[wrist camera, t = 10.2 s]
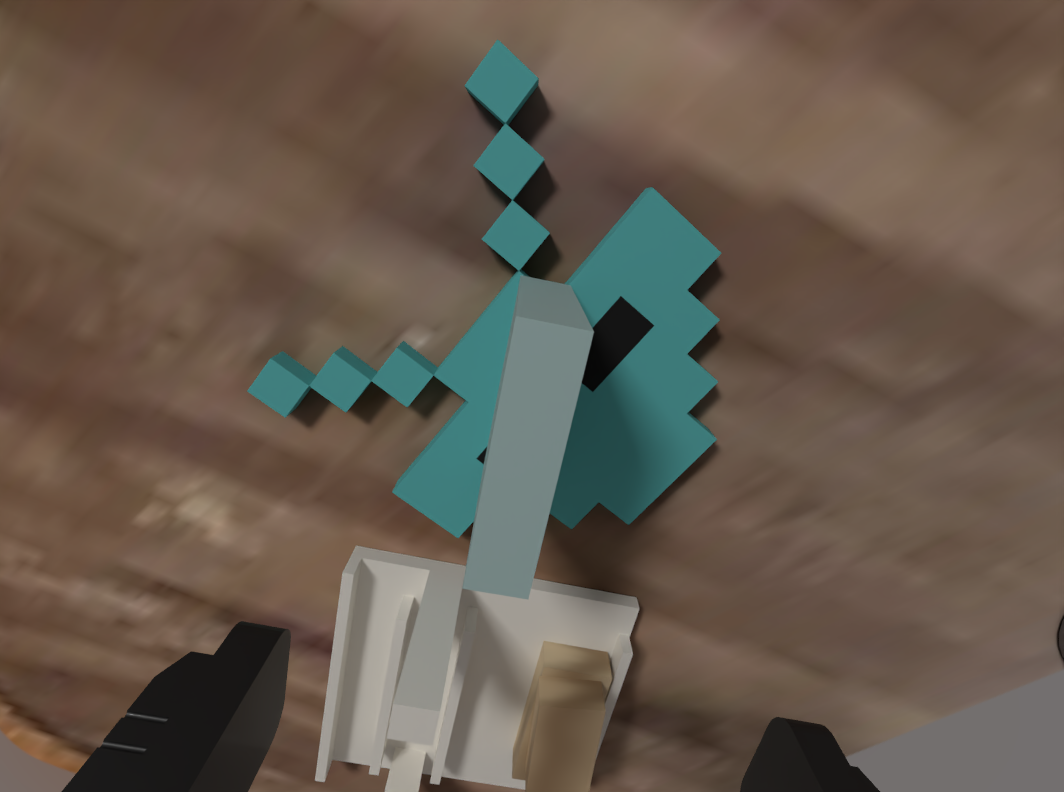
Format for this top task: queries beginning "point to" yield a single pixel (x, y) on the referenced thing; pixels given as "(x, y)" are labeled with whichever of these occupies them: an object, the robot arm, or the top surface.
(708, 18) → the top surface
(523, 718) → the offcut low
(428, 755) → the rack
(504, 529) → the grey-green square slab
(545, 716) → the offcut top
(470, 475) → the alien figure
